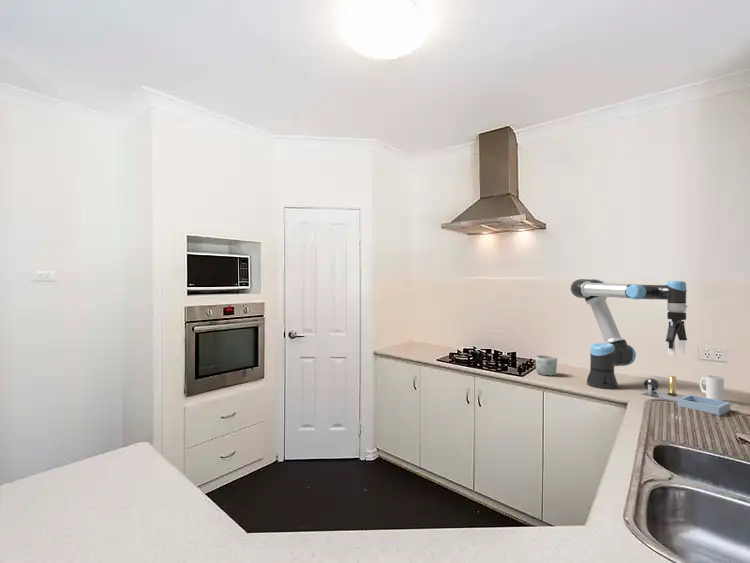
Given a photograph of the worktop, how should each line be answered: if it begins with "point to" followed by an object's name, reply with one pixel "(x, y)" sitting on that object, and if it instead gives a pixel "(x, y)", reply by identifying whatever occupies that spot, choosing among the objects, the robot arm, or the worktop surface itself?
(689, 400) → the tray
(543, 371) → the planter
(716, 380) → the mug
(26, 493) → the worktop surface
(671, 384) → the pin
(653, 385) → the tensioner
